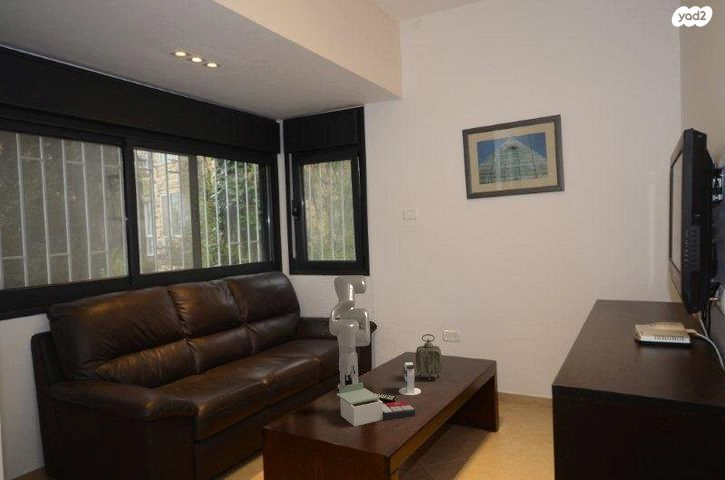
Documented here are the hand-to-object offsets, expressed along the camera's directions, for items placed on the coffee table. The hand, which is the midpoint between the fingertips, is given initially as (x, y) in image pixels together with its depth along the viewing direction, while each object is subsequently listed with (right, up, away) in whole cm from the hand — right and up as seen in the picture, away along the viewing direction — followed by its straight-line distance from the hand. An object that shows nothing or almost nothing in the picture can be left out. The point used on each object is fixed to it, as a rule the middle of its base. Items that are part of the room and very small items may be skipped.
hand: (348, 387), depth 225 cm
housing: (+6, -10, -11) cm, 16 cm away
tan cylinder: (+6, -9, -11) cm, 15 cm away
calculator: (+21, -10, -8) cm, 25 cm away
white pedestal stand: (+31, -9, +22) cm, 39 cm away
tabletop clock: (+44, -8, +41) cm, 60 cm away
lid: (+4, -2, -8) cm, 9 cm away
